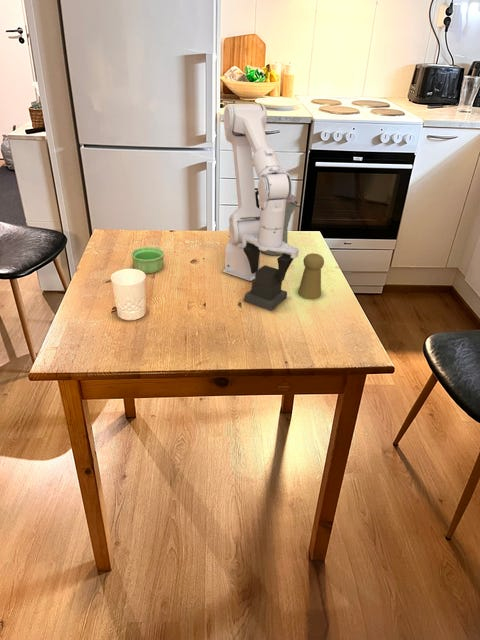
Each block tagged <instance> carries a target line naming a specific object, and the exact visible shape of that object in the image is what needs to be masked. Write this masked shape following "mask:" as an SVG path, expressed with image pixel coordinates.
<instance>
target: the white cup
mask: <svg viewBox="0 0 480 640" xmlns="http://www.w3.org/2000/svg"><path fill="white" fill-rule="evenodd" d="M110 281H111V282H110V283H111V287H112V295H113V300H114V305H115V307H116V314H117V316H118V318H120V319H121V320H125V321H135V320H139V319H141V318H142V317H144V316H145V315H146V313H147V275H146V273H144V272H142V271H140V270H137V269H135V268H124V269H123V268H122V269H119V270H117V271H115V272H113V273H112V274H111V275H110Z"/></svg>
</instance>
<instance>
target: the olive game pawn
mask: <svg viewBox="0 0 480 640" xmlns="http://www.w3.org/2000/svg"><path fill="white" fill-rule="evenodd" d="M324 264H325V259H324V257H323V256H322V255H321V254H319V253H316V252H315V253H314V252H312V253H307V254H306V255H305V256H304V258H303V266H304V269H303V273H302V276H301V279H300V280H301V281H300V283H299V288H298V295H299V297H302V298H304V299H307V300H316V299H318V298H320V297H321V296H322V269H323V267H324Z"/></svg>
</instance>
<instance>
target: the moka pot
mask: <svg viewBox="0 0 480 640" xmlns="http://www.w3.org/2000/svg"><path fill="white" fill-rule="evenodd" d="M255 196H256V207H257V208H259V209H260V210H261V206H260V205H259V193H258V189H257V190H255ZM285 200H286V207H285V218H284V228H283V239H282V241H283V242H285V243H287V244H288V232H289V231H288V228H289V223H290V220H291V217H292V215H293V213H294V212H295V210H296V208H297V207H298V206H300V203H299V201H298V200H297V197H296V196H295V195H294V194H293V193H291V196H290V198H289V199H285ZM261 252H262V253H263V254H266V255H269V256H282V254H281V253H277V252H274V251H269V250H267V251H262V250H261Z"/></svg>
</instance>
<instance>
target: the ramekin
mask: <svg viewBox="0 0 480 640" xmlns="http://www.w3.org/2000/svg"><path fill="white" fill-rule="evenodd" d="M164 256H165V252H164V250H163V249H161V248H159V247H155V246H142V247H138V248H135V249H134V250H133V251H132V252H131V258H132V263H133V269H137V270H140V271H142V272H144V273H145V274H153V273H158V272H159V271H161V270H162V269H163V267H164V258H165V257H164Z"/></svg>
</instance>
